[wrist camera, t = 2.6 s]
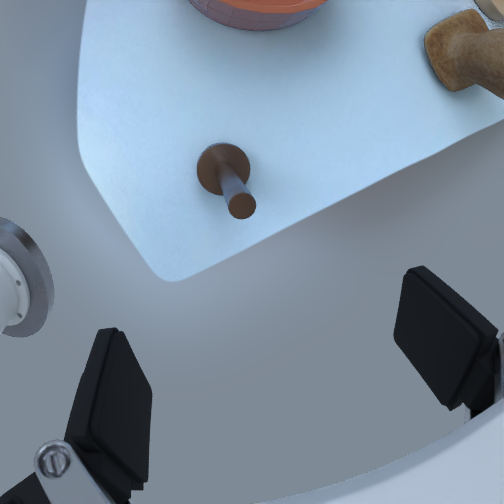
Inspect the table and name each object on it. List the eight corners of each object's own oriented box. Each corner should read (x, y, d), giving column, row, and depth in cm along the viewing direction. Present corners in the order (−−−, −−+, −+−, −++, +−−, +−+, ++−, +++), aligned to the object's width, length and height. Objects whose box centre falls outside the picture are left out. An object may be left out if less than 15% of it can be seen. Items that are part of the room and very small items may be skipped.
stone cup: (447, 113, 31) (536, 129, 18) (407, 33, 26) (498, 17, 13) (494, 76, 29) (568, 85, 16) (463, 9, 24) (538, 0, 11)
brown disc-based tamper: (201, 195, 31) (205, 255, 18) (193, 147, 29) (188, 169, 16) (250, 187, 32) (289, 240, 19) (244, 139, 29) (282, 155, 16)
